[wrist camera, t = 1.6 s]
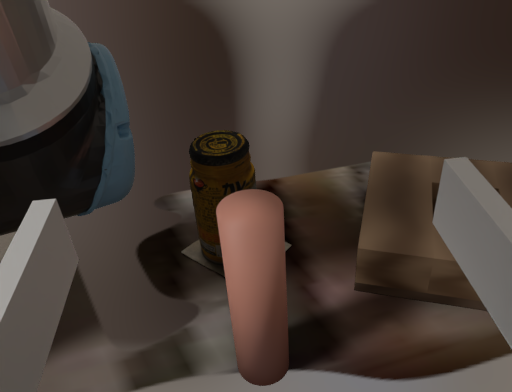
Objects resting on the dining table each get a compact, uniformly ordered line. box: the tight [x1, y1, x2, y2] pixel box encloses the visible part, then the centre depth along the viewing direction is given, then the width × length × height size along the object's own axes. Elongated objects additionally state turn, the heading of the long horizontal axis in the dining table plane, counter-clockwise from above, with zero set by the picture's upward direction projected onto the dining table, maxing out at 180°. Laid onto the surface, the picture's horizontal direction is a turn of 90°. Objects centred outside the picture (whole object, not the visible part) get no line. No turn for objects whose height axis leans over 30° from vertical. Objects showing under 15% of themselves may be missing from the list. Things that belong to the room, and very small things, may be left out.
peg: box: [216, 189, 289, 386], centre depth 33 cm, size 4×4×15 cm
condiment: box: [181, 130, 292, 276], centre depth 44 cm, size 7×8×12 cm
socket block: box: [354, 152, 512, 311], centre depth 45 cm, size 18×16×5 cm
